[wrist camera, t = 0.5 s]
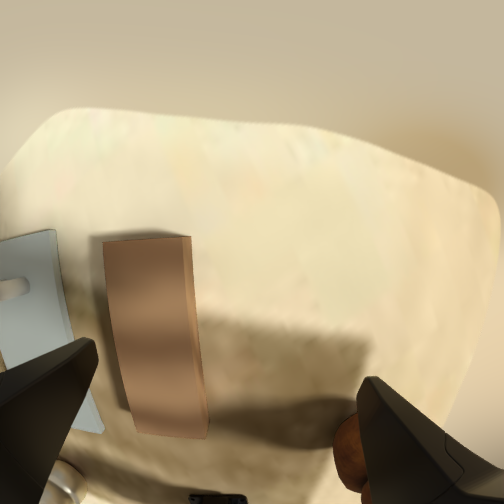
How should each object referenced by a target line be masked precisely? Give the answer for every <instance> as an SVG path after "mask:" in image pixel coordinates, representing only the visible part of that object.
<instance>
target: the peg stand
mask: <svg viewBox="0 0 504 504" xmlns="http://www.w3.org/2000/svg"><path fill="white" fill-rule="evenodd" d="M73 341H75V340H74V336H73V333H72V328H71V324H70V320H69V315H68V311H67V306H66V301H65V296H64V290H63V285H62V279H61V272H60V265H59V257H58V249H57V239H56V230H47V231H42V232H38V233H34V234H29V235H25V236H21V237H17V238H13V239H9V240H5V241H2V242H0V349H1V353H2V356H3V359H4V362H5V365H6V368H7V370H8V369H11V368H13V367H15V366H18V365H20V364H22V363H25V362H27V361H29V360H31V359H34V358H36V357H38V356H41V355H43V354H45V353H48V352H50V351H52V350H54V349H57V348H59V347H61V346H64V345H66V344H68V343H70V342H73ZM71 428H75V429H79V430H84V431H89V432H94V433H99V434H102V432H103V431H104V430H105V427H104V425H103V423H102V420H101V418H100V415H99V413H98V410H97V408H96V405H95V403H94V400H93V397H92V395H91V392H90V389H88V392H87V394H86V397H85V399H84V401H83V404H82V406H81V408H80V410H79V412H78V414H77V416H76V418H75V420H74V422H73V424H72V426H71Z"/></svg>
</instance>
